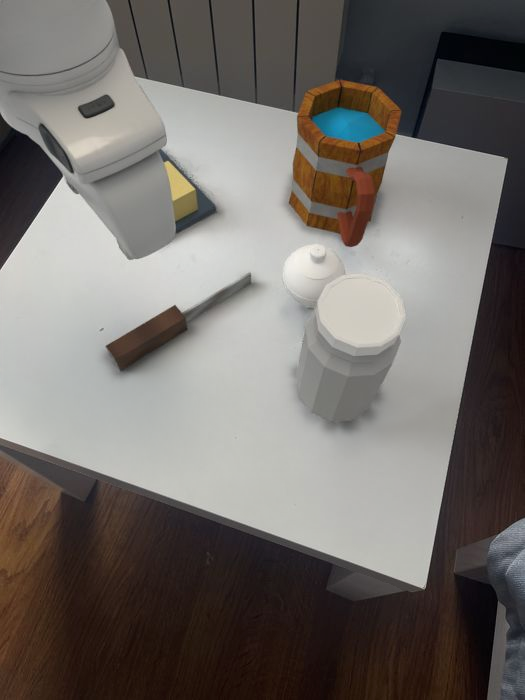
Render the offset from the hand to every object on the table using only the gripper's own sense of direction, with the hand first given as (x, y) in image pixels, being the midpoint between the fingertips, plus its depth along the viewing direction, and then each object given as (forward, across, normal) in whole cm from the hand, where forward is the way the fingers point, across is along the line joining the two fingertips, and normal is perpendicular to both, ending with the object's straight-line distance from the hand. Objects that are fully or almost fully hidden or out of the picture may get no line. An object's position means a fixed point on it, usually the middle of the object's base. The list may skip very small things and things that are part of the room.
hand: (105, 218), depth 48 cm
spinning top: (+23, +8, +20) cm, 32 cm away
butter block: (+22, -18, +15) cm, 32 cm away
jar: (+23, +19, +15) cm, 34 cm away
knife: (+23, 0, +5) cm, 24 cm away
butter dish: (+23, -21, +15) cm, 35 cm away
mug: (+23, -2, +34) cm, 41 cm away
